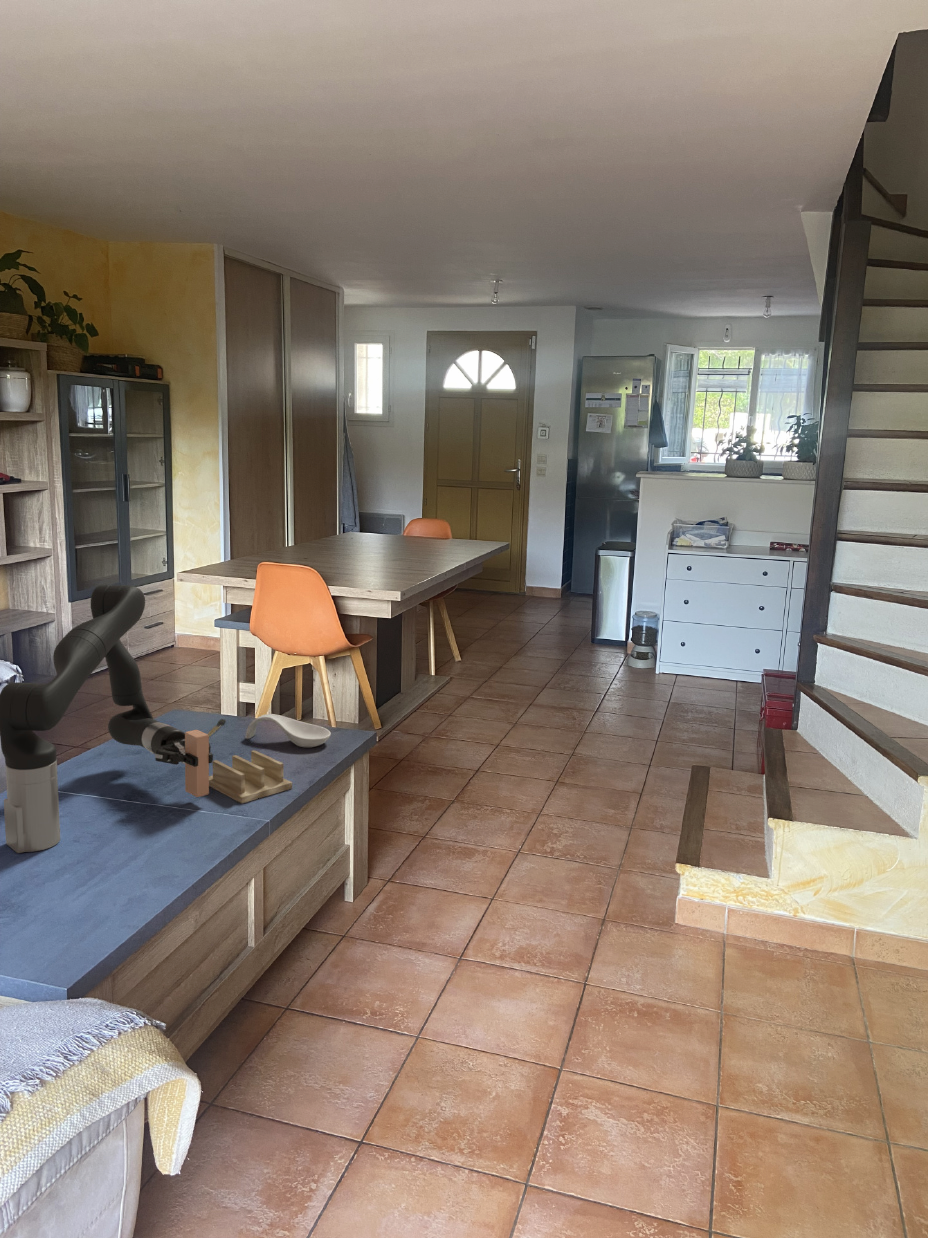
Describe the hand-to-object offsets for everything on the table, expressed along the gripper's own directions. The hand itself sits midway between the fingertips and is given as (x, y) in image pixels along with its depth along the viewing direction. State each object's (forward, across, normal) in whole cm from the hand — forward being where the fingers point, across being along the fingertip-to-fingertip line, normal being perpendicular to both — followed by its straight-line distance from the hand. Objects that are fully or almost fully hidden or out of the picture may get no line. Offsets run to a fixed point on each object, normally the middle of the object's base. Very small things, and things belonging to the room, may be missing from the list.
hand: (203, 760), depth 202 cm
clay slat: (-3, 0, +8) cm, 9 cm away
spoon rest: (-24, +41, +11) cm, 48 cm away
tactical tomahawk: (-42, +29, +11) cm, 52 cm away
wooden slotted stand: (-4, +14, +11) cm, 18 cm away
